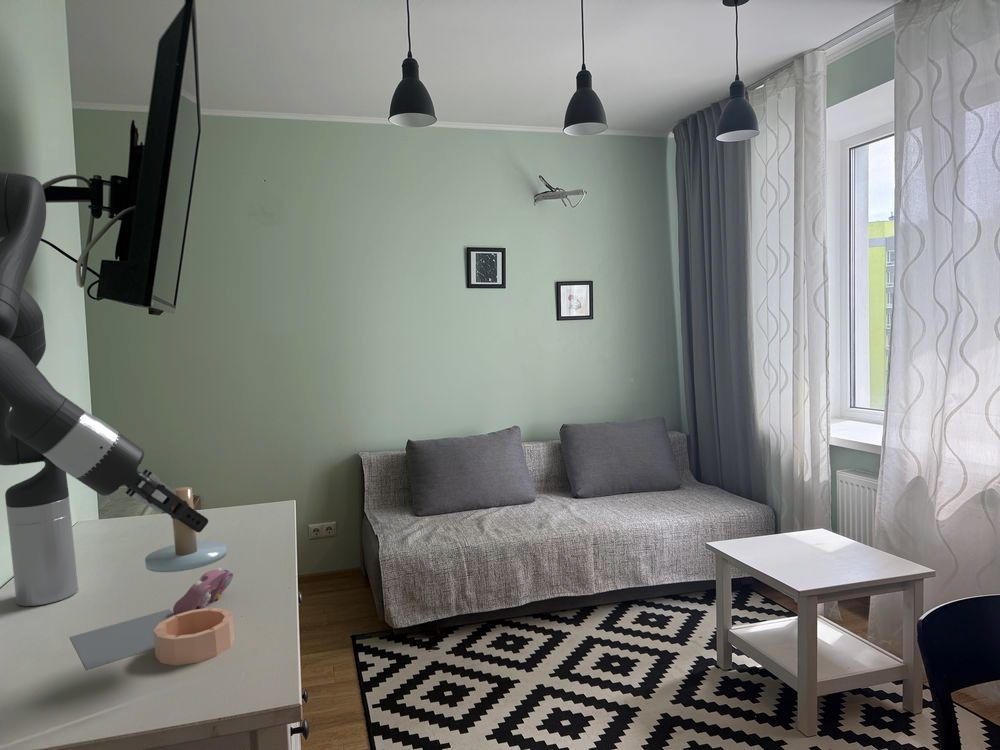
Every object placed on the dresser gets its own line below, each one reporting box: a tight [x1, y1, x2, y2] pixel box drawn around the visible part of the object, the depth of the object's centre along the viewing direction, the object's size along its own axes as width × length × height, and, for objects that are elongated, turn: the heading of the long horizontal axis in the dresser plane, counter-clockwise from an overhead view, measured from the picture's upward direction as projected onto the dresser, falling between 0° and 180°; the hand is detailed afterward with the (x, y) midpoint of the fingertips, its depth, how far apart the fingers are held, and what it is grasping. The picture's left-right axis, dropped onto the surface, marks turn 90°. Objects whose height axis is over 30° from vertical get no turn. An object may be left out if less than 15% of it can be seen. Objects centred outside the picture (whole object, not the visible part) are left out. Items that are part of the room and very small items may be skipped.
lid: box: [144, 486, 227, 573], centre depth 98 cm, size 10×10×10 cm
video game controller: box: [172, 567, 234, 615], centre depth 115 cm, size 10×5×7 cm, turn 169°
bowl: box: [153, 607, 236, 666], centre depth 99 cm, size 10×10×4 cm
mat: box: [69, 608, 175, 671], centre depth 104 cm, size 14×14×1 cm
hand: (199, 524), depth 99 cm, fingers closed on lid, 2 cm apart
